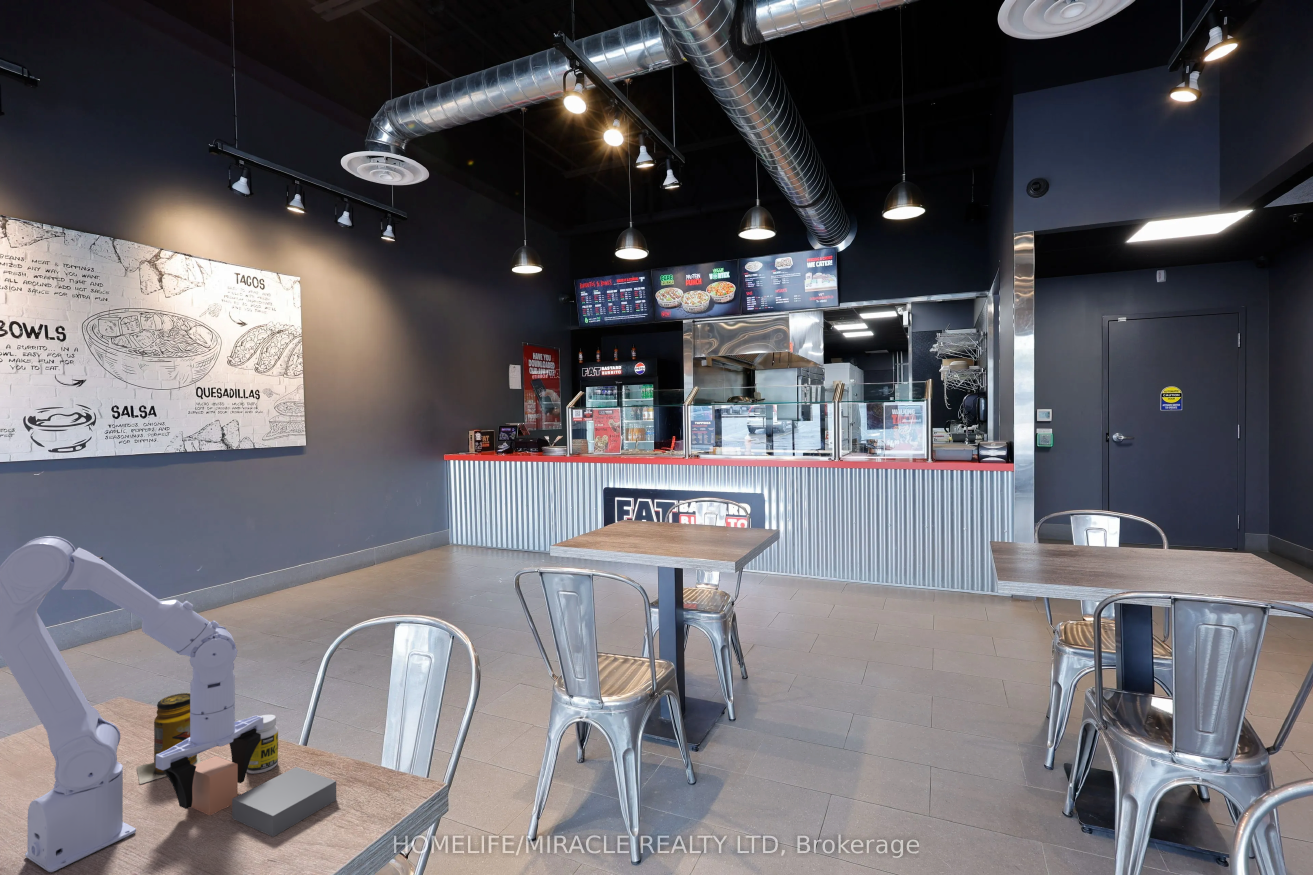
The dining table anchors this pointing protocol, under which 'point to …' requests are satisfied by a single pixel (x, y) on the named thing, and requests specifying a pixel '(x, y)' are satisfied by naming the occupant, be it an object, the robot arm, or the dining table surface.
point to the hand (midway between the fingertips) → (212, 792)
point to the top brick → (214, 785)
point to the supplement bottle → (265, 747)
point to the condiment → (168, 732)
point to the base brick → (283, 801)
